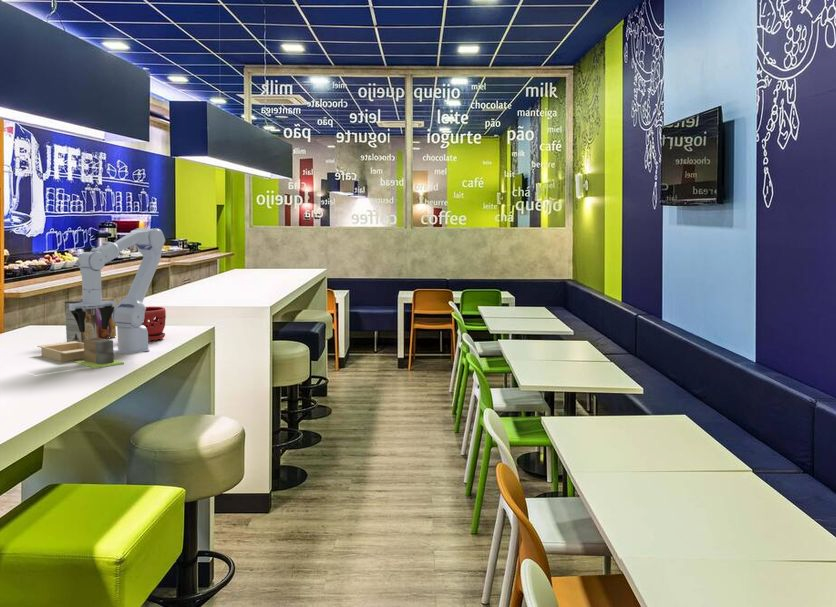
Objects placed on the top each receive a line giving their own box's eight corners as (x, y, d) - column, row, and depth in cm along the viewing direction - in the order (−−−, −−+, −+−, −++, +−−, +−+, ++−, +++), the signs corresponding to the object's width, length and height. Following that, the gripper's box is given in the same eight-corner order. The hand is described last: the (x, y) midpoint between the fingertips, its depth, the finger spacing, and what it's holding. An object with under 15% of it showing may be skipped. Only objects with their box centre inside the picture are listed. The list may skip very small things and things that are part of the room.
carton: (75, 351, 256) (75, 341, 255) (104, 358, 244) (103, 347, 243) (37, 356, 246) (37, 345, 245) (65, 364, 234) (64, 353, 233)
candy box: (110, 336, 287) (109, 297, 285) (116, 337, 284) (115, 298, 282) (88, 339, 280) (86, 299, 278) (94, 340, 277) (92, 300, 276)
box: (97, 358, 239) (96, 337, 239) (113, 362, 234) (113, 340, 234) (84, 361, 236) (83, 339, 235) (100, 364, 231) (99, 342, 230)
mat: (104, 358, 243) (104, 357, 243) (123, 363, 235) (123, 361, 235) (74, 363, 235) (74, 361, 235) (93, 368, 227) (93, 366, 227)
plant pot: (145, 336, 289) (144, 305, 287) (173, 338, 284) (172, 307, 283) (121, 341, 277) (120, 309, 275) (150, 343, 272) (149, 311, 271)
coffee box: (82, 341, 275) (80, 298, 273) (97, 342, 274) (96, 299, 272) (66, 345, 266) (64, 301, 264) (81, 346, 265) (80, 301, 263)
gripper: (106, 286, 248) (108, 326, 250) (63, 289, 237) (65, 331, 238) (117, 288, 244) (119, 328, 245) (74, 291, 232) (76, 334, 234)
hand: (93, 330), depth 242 cm, fingers open, 7 cm apart
